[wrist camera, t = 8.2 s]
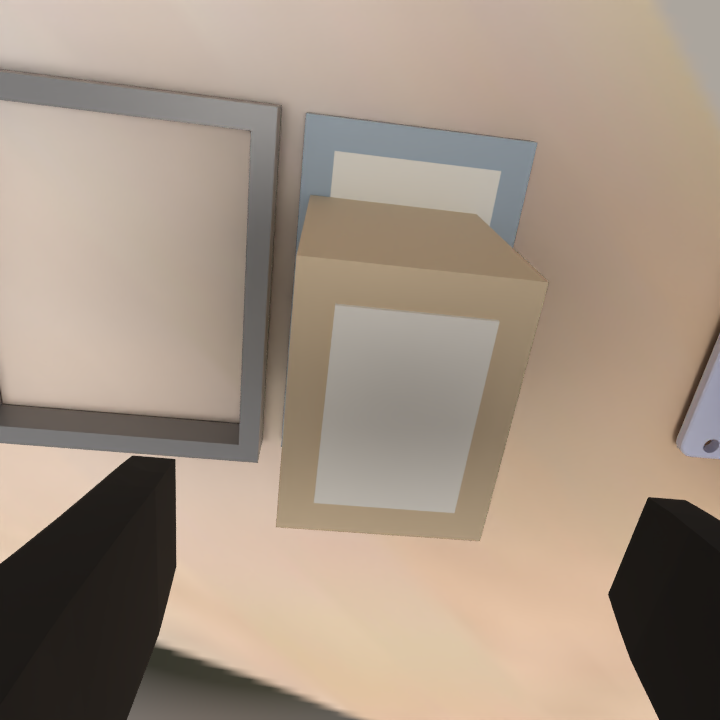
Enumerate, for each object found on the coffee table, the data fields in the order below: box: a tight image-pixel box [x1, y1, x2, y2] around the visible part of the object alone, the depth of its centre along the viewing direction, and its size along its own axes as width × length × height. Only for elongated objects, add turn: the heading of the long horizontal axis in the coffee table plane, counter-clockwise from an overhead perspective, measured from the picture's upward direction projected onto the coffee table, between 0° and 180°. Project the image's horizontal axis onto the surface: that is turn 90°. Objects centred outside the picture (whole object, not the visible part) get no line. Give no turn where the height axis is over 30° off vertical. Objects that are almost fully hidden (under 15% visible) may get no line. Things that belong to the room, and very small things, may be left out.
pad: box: [281, 113, 537, 447], centre depth 17 cm, size 6×10×1 cm, turn 173°
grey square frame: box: [0, 69, 282, 463], centre depth 16 cm, size 9×10×1 cm
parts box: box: [276, 195, 549, 541], centre depth 14 cm, size 4×6×6 cm
